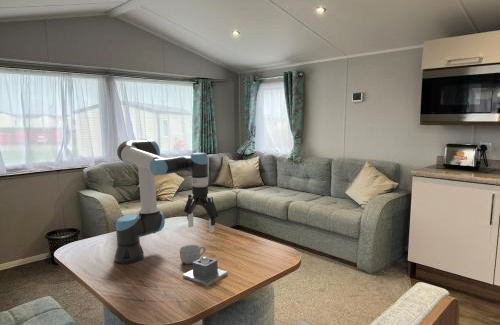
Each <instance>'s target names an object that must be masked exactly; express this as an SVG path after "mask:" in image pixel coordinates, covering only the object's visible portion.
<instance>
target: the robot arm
mask: <svg viewBox="0 0 500 325" xmlns="http://www.w3.org/2000/svg"><path fill="white" fill-rule="evenodd" d="M116 154H117V157H118V159H119V160H120V161H121V162H123V163H125V164H134V165H135V166H136V167H137V168H138V169H137V171H138V181H139V182H138V184H139V196H140V209H139V210H138V214H135V213H134V214H127V215H123V216H121V217H119V218H117V219H116V222H115V230H116V243H117V245H116V250H115V254H114V262H115V261H116V262H115V263H117V262H118V264H121V263H127V264H132V263H136V262H139V261H141V260H142V259H144V257H145V254H144V252H145V251H144V250H143V247H142V246H141V240H140V239H141V238H142V237H145V236H148V235H152V234H156V233H159V232H161V231H162V230H163V229H164V227H165V225H166V224H165V222H166V221H165V216H164V213H163V212H162V211H161V209H160V208H159V207H158V206H157V205H158V204H157V203H158V202H157V191H156V178H155V176H163V175H171V174H178V173H185V172H189V173H191V186H192V187H191V192H192V193H189V194H188V195H187V201H186V204H185V206H184V208H183V209H184V210H183V212H184V213H186V214H187V215H186V216H187V221H188V223H187V224H188V228H189V229H190V228H192V227H194V212H193V211H194V210H195V208H196V207H197V206H201V207H202V208H204V210H205V212H206V213H207V215H208V216H209V219H208V225H209V226H208V229H209V230H208V232H209V233H213V232H215V225H216V219H217V218H219V213H218V211H217V208H216V205H215V202H214V198H213V197H212V196H210V197H209V196H208V194H209V186H208V185H209V174H208V173H209V171H208V166H209V165H208V164H209V161H208V160H209V159H208V154H207V153H206V152H193V153H191V155H185V154H184V155H178V156H173V157H162V156H161V150H160V146H159V144H158V143H157V141H156V140H153V139H136V140H135V139H133V140H126V141H123V142H122V143H120V144H119V146H118V147H117V150H116Z"/></svg>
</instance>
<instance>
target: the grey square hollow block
mask: <svg viewBox="0 0 500 325" xmlns="http://www.w3.org/2000/svg"><path fill="white" fill-rule="evenodd" d="M208 258H209V261H210V263H208V264H206V265H205V264H201V263H200V259H201V257H200V259H198V260H196V261H194V262H193V264H192V270H193V274H194V275H197V276H200V277H203V278H205V279H206V278H208V277H210V276H212V275H213V274H215V273H217V272H218V269H219V268H218V264H219V263H218V260H217V259H215V258H212V257H208Z"/></svg>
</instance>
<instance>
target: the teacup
mask: <svg viewBox="0 0 500 325" xmlns="http://www.w3.org/2000/svg"><path fill="white" fill-rule="evenodd" d="M201 249H203V250H202V251H201ZM206 251H207V249H206V247H205V246H204V245H201V246H200V245H196V244H189V245H184V246H181V247H180V248H179V258H180V260H181V262H182V263H183V264H184V265H193V262H194V261H196V260H198V259H200V258H201V257H202V256H203V255H204V254H205V253H206Z"/></svg>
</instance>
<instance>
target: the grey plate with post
mask: <svg viewBox="0 0 500 325" xmlns="http://www.w3.org/2000/svg"><path fill="white" fill-rule="evenodd" d="M200 258H201V259H200V263H201V264H205V265H206V264H208V263H210V261H209V258H210V257H209V256H208V255H201V257H200ZM227 275H228V271H227V270H224V269H221V268H218V272H217V273H215V274H213V275H212V276H210V277H208V278H206V279H205V278H203V277H200V276H197V275H194V274H193V269H191V270H188V271H187V272H185V273H183V274H182V278H183V279H187V280H189V281H192V282H196V283H198V284H201V285H203V286H206V287H209V286H211V285H212V284H214V283H216V282H218V281H219V280H221V279H223V278H224V277H226V276H227Z"/></svg>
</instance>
